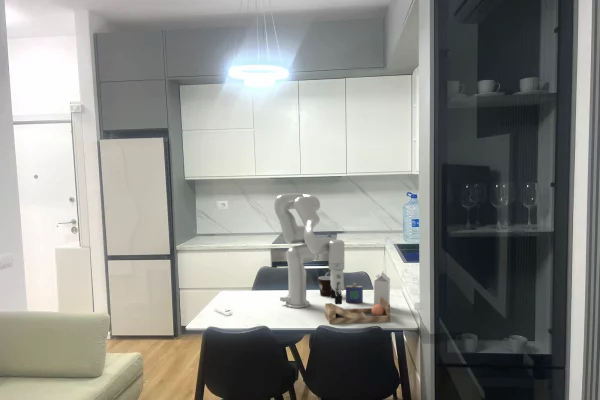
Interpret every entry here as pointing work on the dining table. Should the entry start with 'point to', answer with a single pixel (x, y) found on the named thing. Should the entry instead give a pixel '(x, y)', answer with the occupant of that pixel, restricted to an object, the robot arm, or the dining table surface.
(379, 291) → the milk carton
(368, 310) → the wooden tray
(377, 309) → the ball
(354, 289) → the flask
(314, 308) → the dining table surface
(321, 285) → the coffee mug
